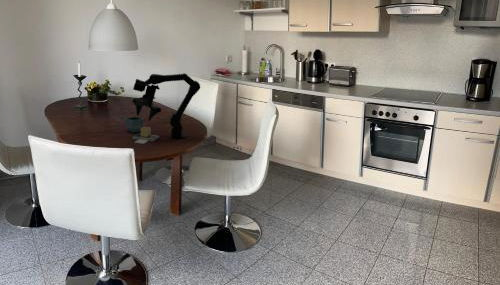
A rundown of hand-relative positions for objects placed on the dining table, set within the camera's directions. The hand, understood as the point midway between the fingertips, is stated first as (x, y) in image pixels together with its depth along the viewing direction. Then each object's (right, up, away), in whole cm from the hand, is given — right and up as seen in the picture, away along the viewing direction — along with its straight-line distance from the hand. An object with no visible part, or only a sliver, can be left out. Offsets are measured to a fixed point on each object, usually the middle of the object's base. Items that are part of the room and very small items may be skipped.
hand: (143, 118), depth 230 cm
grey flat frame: (+1, -13, +2) cm, 13 cm away
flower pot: (-10, -8, +16) cm, 21 cm away
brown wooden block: (+1, -13, +2) cm, 13 cm away
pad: (0, -15, -5) cm, 16 cm away
